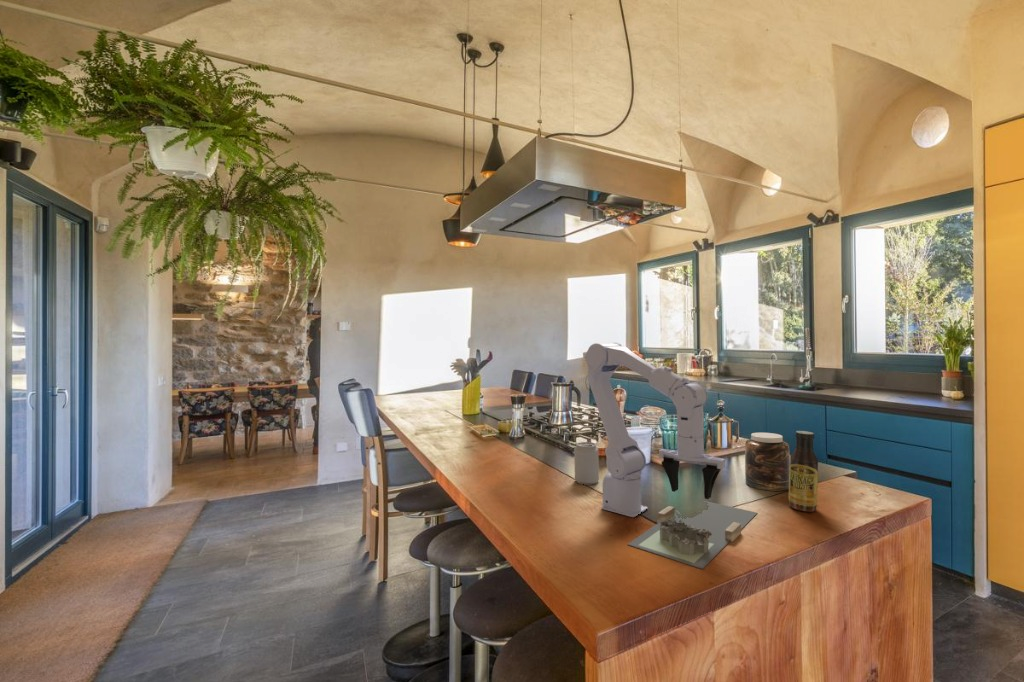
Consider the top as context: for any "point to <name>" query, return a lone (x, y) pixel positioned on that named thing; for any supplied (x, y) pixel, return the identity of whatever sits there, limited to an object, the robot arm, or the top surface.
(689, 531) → the egg carton
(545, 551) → the top surface
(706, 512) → the lane mat
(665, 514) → the lane walls
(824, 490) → the top surface
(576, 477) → the can
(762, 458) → the jar
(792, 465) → the sauce bottle
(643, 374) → the robot arm
